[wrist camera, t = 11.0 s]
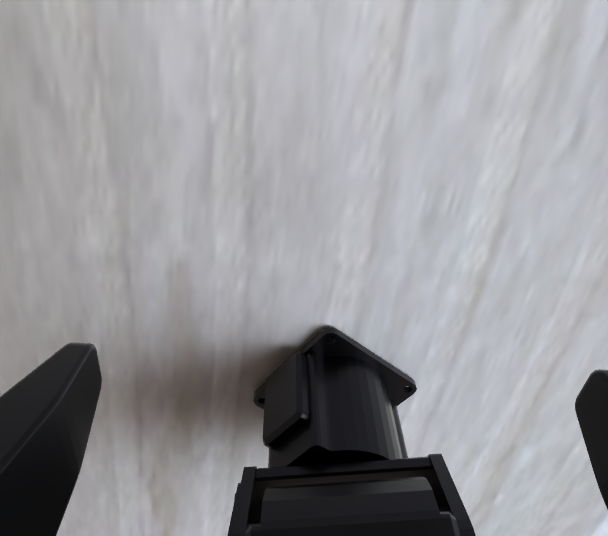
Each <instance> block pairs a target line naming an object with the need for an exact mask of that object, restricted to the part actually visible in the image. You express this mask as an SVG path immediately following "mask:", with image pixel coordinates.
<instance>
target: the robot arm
mask: <svg viewBox="0 0 608 536" xmlns="http://www.w3.org/2000/svg"><path fill="white" fill-rule="evenodd" d="M328 337H334V338H333V339H327V338H328ZM101 382H102V378H101V372H100V366H99V361H98V356H97V350H96V348H95V346H94V345H93V344H90V343H69V344H67V345H65V346H64V347H63V348H61V349H60V350H59V351H58V352H56V353H55V354H54V355H53V356H51V357H50V358H49V359H47V360H46V361H45V362H44V363H42V364H41V365H40V366H39V367H37V368H36V369H35V370H34V371H32V372H31V373H30V374H28V375H27V376H26V377H25V378H23V379H22V380H21V381H20V382H18V383H17V384H16V385H14V386H13V387H12V388H11V389H9V390H8V391H7V392H6V393H4V394H3V395H2V396H1V397H0V536H56V535H57V532H58V529H59V527H60V524H61V521H62V519H63V516H64V513H65V511H66V508H67V505H68V503H69V500H70V497H71V495H72V492H73V490H74V487H75V484H76V481H77V478H78V475H79V472H80V469H81V465H82V462H83V458H84V454H85V450H86V446H87V442H88V438H89V434H90V430H91V426H92V422H93V418H94V414H95V410H96V406H97V402H98V398H99V394H100V390H101ZM406 386H408V387H406ZM416 389H417V388H416V384H415V381H414V380H413V379H412V378H410V377H409V376H407V375H406V374H404V373H403V372H401V371H400V370H398V369H397V368H395V367H394V366H392V365H391V364H389V363H388V362H386V361H384V360H383V359H381V358H380V357H378V356H377V355H375V354H374V353H372V352H371V351H369V350H368V349H366V348H365V347H363V346H362V345H360V344H358V343H357V342H355V341H354V340H352V339H351V338H349V337H348V336H346V335H345V334H343V333H342V332H340V331H339V330H337V329H335V328H326V329H324V330H323V331H321V332H320V333H319V334H318V335H317V336H316V337H315V338H314V339H313V340H312V341H310V342H309V343H308V344H307V345H306V346H305V347H304V348H303V349H302V350H300V351H299V352H296V353H294V354H293V355H292V356H291V357H290V358H289V359H288V360H287V361H285V362H284V363H283V364H282V365H281V366H280V367H279V368H278V369H277V370H276V371H274V372H273V373H272V374H271V375H270V376H269V377H268V378H267V379H266V382H265V383H264V384H263V385H262V386H261V387H260V388H258V389H257V390H256V391H255V393H254V403H255V404H256V405H257V406H259V407H261V408H263V409H264V426H263V443H264V445H265V446H267V447H269V464H268V468H257V467H256V466H255V467H244V470H243V475H242V481H241V483H238V487H237V492H236V494H235V500H234V507H233V512H232V517H231V521H230V526H229V531H228V536H475V532H474V529H473V526H472V524H471V521H470V519H469V516H468V514H467V512H466V509H465V507H464V505H463V503H462V500H461V498H460V496H459V493H458V491H457V489H456V487H455V484H454V482H453V480H452V477H451V475H450V473H449V471H448V468H447V466H446V464H445V462H444V459H443V457H442V455H441V454H429V455H428V457H417V458H408V456H407V452H406V447H405V443H404V438H403V434H402V429H401V425H400V420H399V416H398V411H397V407H396V406H398V405H399V404H400V403H402V402H403V401H404V400H406V399H407V398H409V397H410V396H411V395H413V394H414V393H415V392H416ZM261 397H264V398H261ZM575 410H576V414H577V418H578V421H579V424H580V428H581V431H582V434H583V438H584V441H585V444H586V447H587V451H588V454H589V457H590V461H591V464H592V467H593V471H594V474H595V477H596V480H597V483H598V486H599V489H600V492H601V494H602V497H603V500H604V502H605V505H606V507H607V509H608V370H595V371H594V372H592V373H591V374H590V376H589V378H588V379H587V381H586V383H585V384H584V386H583V388H582V390H581V391H580V393H579V395H578V396H577V398H576V402H575Z"/></svg>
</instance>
